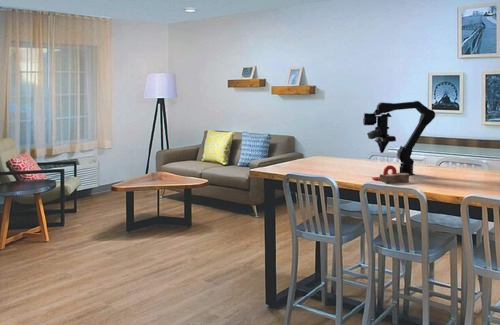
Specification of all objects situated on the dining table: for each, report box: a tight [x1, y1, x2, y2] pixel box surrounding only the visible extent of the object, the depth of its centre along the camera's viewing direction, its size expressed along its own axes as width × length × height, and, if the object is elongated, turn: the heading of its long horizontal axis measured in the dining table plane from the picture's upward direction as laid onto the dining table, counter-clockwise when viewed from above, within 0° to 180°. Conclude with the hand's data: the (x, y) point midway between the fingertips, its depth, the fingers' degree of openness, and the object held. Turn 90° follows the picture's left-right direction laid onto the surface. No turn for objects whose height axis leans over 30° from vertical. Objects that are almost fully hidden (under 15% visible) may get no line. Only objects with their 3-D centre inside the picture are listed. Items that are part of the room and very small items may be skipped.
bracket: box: [371, 165, 398, 182], centre depth 262 cm, size 12×4×8 cm, turn 95°
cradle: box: [379, 172, 410, 185], centre depth 255 cm, size 13×8×5 cm, turn 107°
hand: (381, 152), depth 274 cm, fingers closed
